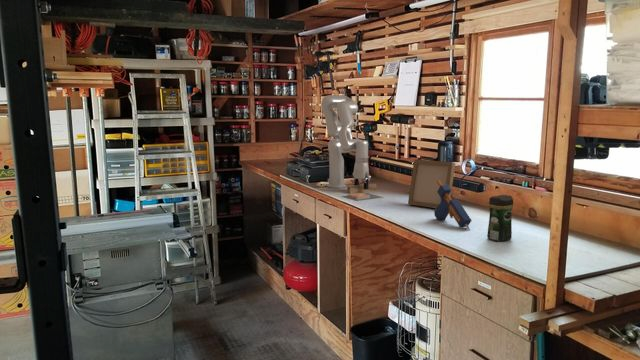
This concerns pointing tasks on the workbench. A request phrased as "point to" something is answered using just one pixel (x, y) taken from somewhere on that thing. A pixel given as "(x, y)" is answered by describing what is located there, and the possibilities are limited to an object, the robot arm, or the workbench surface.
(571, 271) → the workbench surface
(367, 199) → the mat
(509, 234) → the coffee jar
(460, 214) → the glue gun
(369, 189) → the batten
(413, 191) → the photo frame
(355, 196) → the tile
